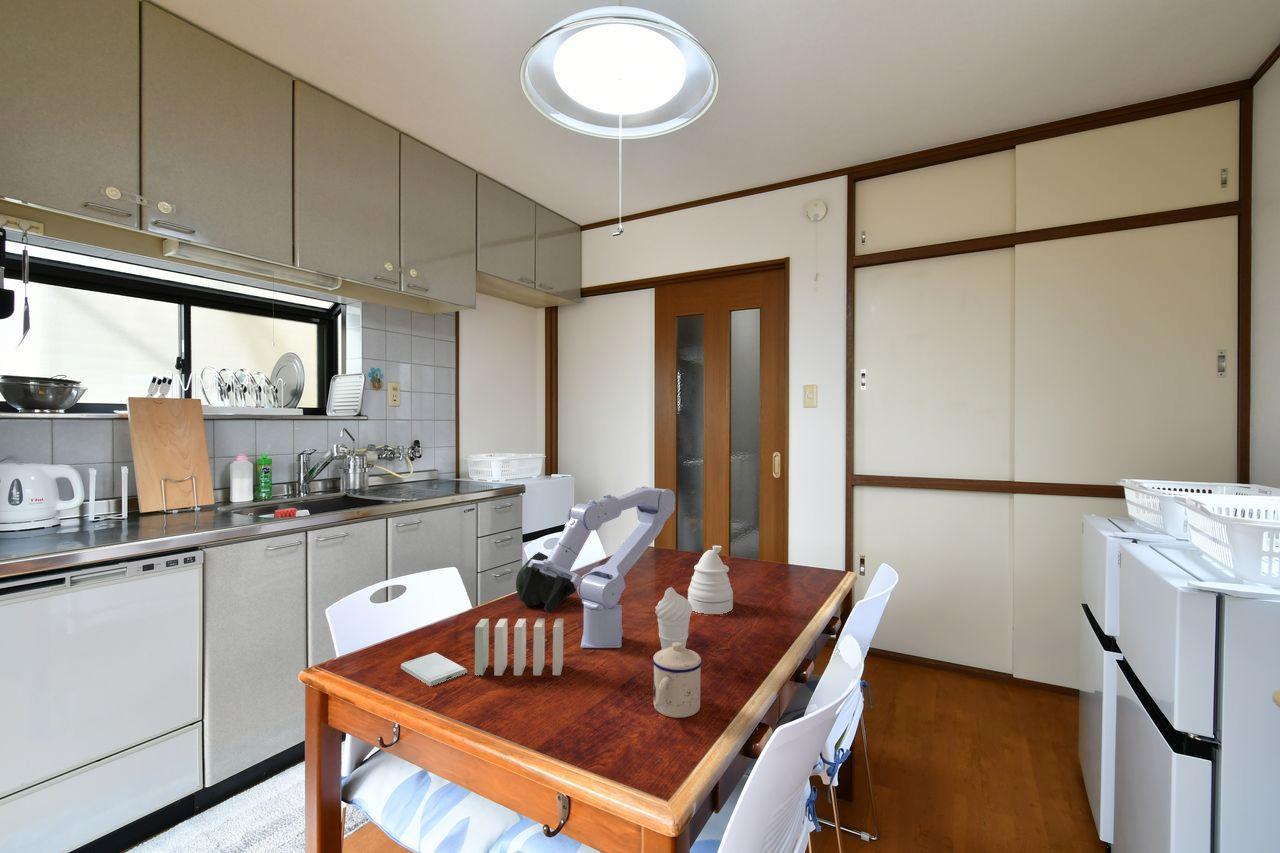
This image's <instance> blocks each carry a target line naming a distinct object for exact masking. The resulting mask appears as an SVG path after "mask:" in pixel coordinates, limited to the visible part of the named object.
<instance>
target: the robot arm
mask: <svg viewBox="0 0 1280 853" xmlns="http://www.w3.org/2000/svg"><path fill="white" fill-rule="evenodd" d="M632 508H635V509H636V515H637V520H638V521H639V522H640V523H639V524H638V526H637V527H635V529H634V530H633V531H632V532H631V534H630V535H629V536H628V537H627V538H626V539H625V541H624V542H623V543H622V544H621V545H620V546H619V547H618V549H617V550H616V551H615V552H614V553H613V554H612V555H611V557H610V558H609V559H608V560H607V561H606V562H605V563H604V564H602V565H598V566H595V567H594V568H592V569H591V570H589V572H588V573H585V574H583V575H582V576H581V575H579V574H578V573H575V572H573V571H571V569H572V567H573V566H574V564H575V562H576V560H577V558H578V556H579V554H580V553H581V551H582V549H583V547H584V545H585V544H586V542H587V540H588V539H589V536H590V535H591V533H592V531H593V532H594V531H598V530H599V529H600V528H601V526H603V524H605V523H607V522H610V521H612V520H614V519H617V518H619V517H620V516H621V514H622V512H623V511H626V510H630V509H632ZM675 511H676V496H675V493H674V491H673V490H672V489H670V488H657V487H648V486H645V485H644V486H641V487H636V488H635V489H634V490H632V491H630V492H627V493H625V494H623V495H620V496H618V497H617V496H614V495H611V494H608V493H607V494H603V495H602V497H601V498H599V499H596V500H595V499H589V501H588V503H586V504H584V503H577V504H574V506H573V507H571V508H569V509H568V512H567V515H566V517H567V519H566V523H565V524H564V529H563V531H562V532H561V534H560V535H559V538H558V539H557V540H556V543H555V544H554V546H553V548H552V550H551V552H550V553H549V555H547V556H548V558H547V560H546V559H544V561H539V560H533V559H532V560H531V561H530V563H529V565H528V566H527V567H526V568H525V581H524V586H523V590H522V593H521V596H520V597H519V601H521V602H522V603H523V604H524V603H525V604H524V605H526V604H527V603H528V602H529V600H530V599H531V597H532V596H533V594H534V592H535V591H536V590H537V588H538V587H539V586H540V585H541V584H542V583H543V582H544V581H545V580H546V579H547V578H546V577H544V576H543V575H542V573H544V574H547V575H550V576H553V577H555V578H556V579H555V583H554V587H553V589H552V592H551V594H550V596H549V598H548V600H547V602H546V603H544V604H545V605H544V608H543V610H544V611H545V612H546V613H548V614H552V613H553V612H554V611H555V610H556V608H558V606H560V604H561V603H562V602H563V601H564V600H566V599H567V598H568V597H570V596H571V595H573V594H574V593H576V592H577V595H578V597H579V598H580V599H581V604H583V634H582V637H581V643H580V648H582V649H613V648H614V649H621V648H622V641H623V640H622V639H623V638H622V637H624V628H622V626H623V624H622V622H623V621H622V620H623V619H622V618H623V615H622V614H623V605H622V604H618V603H619V601H620V598H621V596H622V593H623V592H624V590H625V589H626V582H625V579H624V577H625V576H626V575H627V573H629V571H630V570H631V569H632V567H633V566H634V565H635V564H636V562H637V561H638V560H639V559H640V558H641V557H642V555H643V554H644V553H645V552H646V550H647V549H648V548H649V546H650V545H652V543H653V542H654V541H655V539H657V537H658V536H659V535H660V533H661V531H662V530H663V528H664V525H665V523H666V521H667V520H668V519H669V518H670V516H672V514H673V513H674V512H675ZM575 587H576V588H575Z"/></svg>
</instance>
